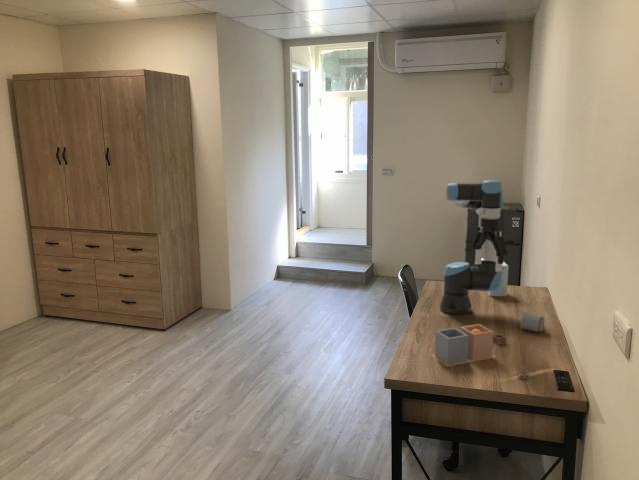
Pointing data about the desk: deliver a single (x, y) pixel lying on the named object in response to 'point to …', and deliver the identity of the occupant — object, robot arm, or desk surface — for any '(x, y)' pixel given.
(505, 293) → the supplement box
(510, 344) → the desk surface
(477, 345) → the double square tube
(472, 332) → the ball
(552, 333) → the desk surface
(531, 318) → the ceramic mug
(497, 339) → the stand
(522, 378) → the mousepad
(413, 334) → the desk surface
